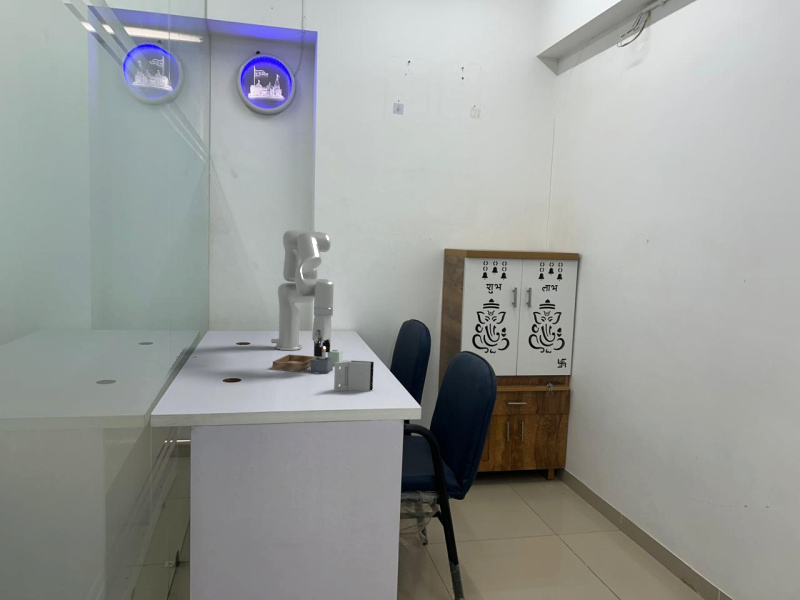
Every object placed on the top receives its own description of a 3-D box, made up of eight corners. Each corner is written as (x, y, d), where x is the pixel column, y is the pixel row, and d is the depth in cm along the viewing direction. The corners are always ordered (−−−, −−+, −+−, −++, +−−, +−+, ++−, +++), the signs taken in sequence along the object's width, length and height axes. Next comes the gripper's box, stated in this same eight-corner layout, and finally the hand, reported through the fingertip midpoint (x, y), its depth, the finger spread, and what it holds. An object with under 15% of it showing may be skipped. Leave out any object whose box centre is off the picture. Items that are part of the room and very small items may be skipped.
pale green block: (327, 365, 238) (327, 351, 238) (330, 363, 243) (331, 349, 243) (338, 366, 237) (339, 351, 237) (342, 364, 242) (342, 349, 242)
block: (310, 372, 224) (310, 359, 223) (316, 368, 231) (316, 356, 230) (327, 373, 223) (327, 361, 222) (332, 370, 229) (333, 357, 229)
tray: (272, 369, 227) (272, 361, 226) (288, 361, 243) (288, 354, 243) (302, 371, 224) (302, 364, 224) (316, 363, 240) (316, 356, 240)
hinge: (334, 391, 196) (334, 363, 195) (332, 387, 201) (333, 360, 201) (373, 391, 199) (374, 362, 198) (371, 387, 204) (372, 360, 203)
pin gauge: (316, 371, 226) (317, 346, 225) (319, 370, 228) (320, 345, 227) (323, 372, 225) (324, 347, 224) (326, 370, 228) (326, 346, 227)
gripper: (321, 309, 234) (320, 349, 235) (306, 313, 217) (305, 357, 218) (338, 310, 232) (337, 351, 234) (325, 314, 215) (323, 359, 217)
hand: (322, 354), depth 226 cm, fingers open, 9 cm apart
